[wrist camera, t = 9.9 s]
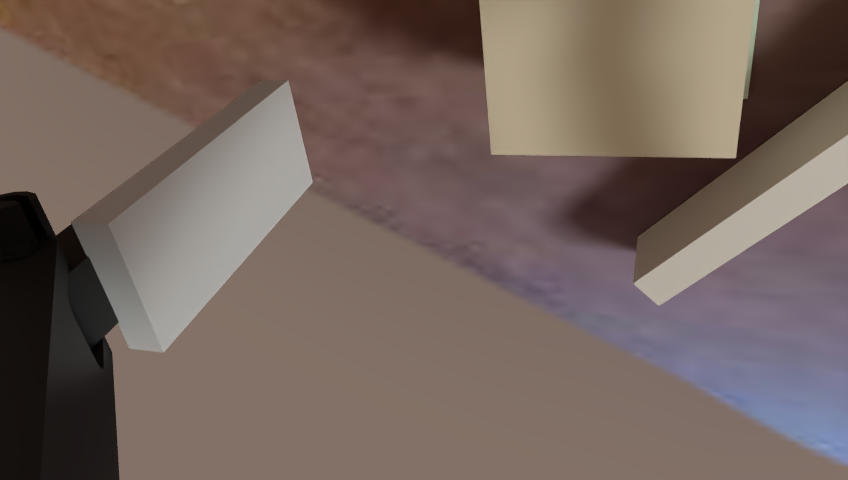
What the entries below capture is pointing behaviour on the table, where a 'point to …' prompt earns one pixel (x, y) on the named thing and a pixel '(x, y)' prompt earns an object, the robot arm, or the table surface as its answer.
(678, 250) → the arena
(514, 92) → the birch cube
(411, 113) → the table surface
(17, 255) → the robot arm
